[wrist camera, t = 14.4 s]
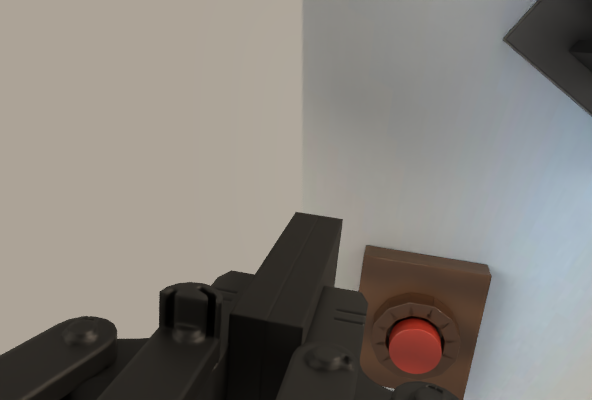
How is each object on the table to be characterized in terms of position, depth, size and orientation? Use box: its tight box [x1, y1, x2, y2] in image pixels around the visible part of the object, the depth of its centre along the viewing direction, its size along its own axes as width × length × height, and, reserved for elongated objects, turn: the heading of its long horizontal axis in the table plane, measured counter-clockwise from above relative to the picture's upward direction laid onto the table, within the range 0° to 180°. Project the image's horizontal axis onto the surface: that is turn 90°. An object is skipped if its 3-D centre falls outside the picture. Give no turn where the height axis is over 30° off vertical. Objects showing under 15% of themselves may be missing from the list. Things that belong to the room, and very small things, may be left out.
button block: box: [359, 245, 491, 400], centre depth 43 cm, size 12×10×4 cm
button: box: [389, 318, 442, 374], centre depth 41 cm, size 4×4×2 cm
